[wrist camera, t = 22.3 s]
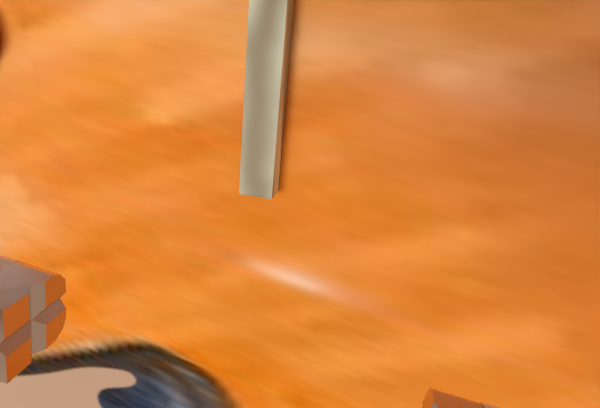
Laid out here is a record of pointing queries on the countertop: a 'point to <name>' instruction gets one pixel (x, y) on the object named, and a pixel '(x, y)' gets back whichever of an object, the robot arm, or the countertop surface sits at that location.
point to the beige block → (265, 95)
